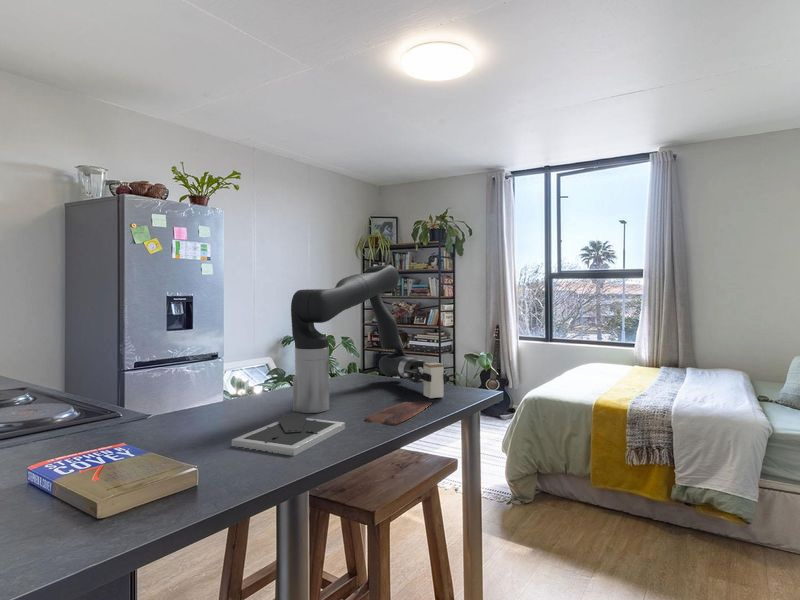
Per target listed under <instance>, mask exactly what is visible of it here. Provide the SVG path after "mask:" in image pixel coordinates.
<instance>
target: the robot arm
mask: <svg viewBox="0 0 800 600" xmlns="http://www.w3.org/2000/svg"><path fill="white" fill-rule="evenodd" d="M399 281H400V276H399V272H398V270H397V268H396V267H394V266H393V265H390V264H383V265H373V266H369V267H367V268H366V269H365V270H364V273H358V274H352V275H349V276H347V277H343V278H342V279H340V280H339V281H338V282H337V283H336V285H335V287H333V288H329V289H328V288H327V289H321V288H318V289H317V288H314V289H312V288H311V289H298V290H297V291H295V292H294V294H293V296H292V298H291V303H290V318H291V319H290V320H291V333H292V339H293V342H294V372H295V373H294V375H293V376H292V411H293V412H298V413H302V414H313V413H314V414H315V413H323V412H326V411H328V410H329V409H330V350H329V349H330V348H329V347H330V341H329V338H328V336H327V335H325V334H323V333H321V332H320V331H318V330H317V329H316V327H315V323H316V324H323V323H327V322H329V321H331V320H332V319H333V318H335V317H336V316H337V315H339V314H340V313H342V312H344V311H346V310H348V309H352V308H353V307H355V306H358V305H360V304H363V303H364V302H366V301H368V300H369V302H370V304H371V309H372V312H373V314H374V317H375V320H376V324H377V330H378V336H379V342H380V346H381V348H382V349H385V350H394V352H392V353H390V354H387V355H383V356H381V358H380V359H379V361H378V368H379V370H380V371H381V373H382V374H383V375H385V376H387V377H388V376H389V377H398V376H399V377H401V378H403V379H406V380H408V381H409V382H412V383H414V384H415V383H416V384H420V383H424V380H425V381H427V382H431V374H427V373H424V366H423V363H427V362H426V361H424V360H422V359H419V358H414V357H408V356H407V355H406V352H405V350H404V348H403V346H402V343H401V339H400V333H399V327H398V324H397V321H396V319H395V317H394V316H393V314H391V312H390V310H389V309H388V307H387V306H386V305H385V303H384V302H383V299H382V295H381V294H383V293H385V292H392V291H393V290H394V289H396V287H397V286H398V285H399ZM443 381H444V382H445V381H447V373H446V370H445V369H444V373H443Z"/></svg>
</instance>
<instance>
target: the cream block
mask: <svg viewBox="0 0 800 600" xmlns="http://www.w3.org/2000/svg"><path fill="white" fill-rule="evenodd" d="M423 366H424V373H427V374H431V382H427V381H425V380H424V381H423V396H425V397H427V398H428V399H436V398H443V397H444V391H445V390H444V387H445V386H444V382H445V381H443V373H444V370H445V369H444V366H445V365H444V363H441V362H437V361H434V362H433V361H432V362H426V363H423Z"/></svg>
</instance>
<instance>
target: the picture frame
mask: <svg viewBox="0 0 800 600" xmlns="http://www.w3.org/2000/svg"><path fill="white" fill-rule="evenodd" d="M307 417H308V415H304V414H303V415H302V414H297V413H291V412H290V413H287V414H285V415H283V416H280V417H277V420H278V421H275V422H272V423H270V424H268V425H265V426H263V427H260V428H258V429H255V430H252V431H249V432H248V433H245V434H242V435H240V436H237V437H236V438H233V439H231V447H232V446H238V447H244V448H243V449H245V448H249V449H248V450H252V449H256V450H255V451H258V450H262V451H261V452H265V451H268V452H267V453H272V452H273V454H278V453H279V455H286V456H292V457H295V456H296V455H299V454H300V453H302V452H304V451H306V450H308V449H310V448H311V447H313V446H315V445H317V444H319V443H321V442H323V441H325V440H326V439H328V438H330V437H332V436H334V435H336V434H337V433H339V432H341V431H343V430H346V422H343V421H333V420H327V419H318V418H317V419H316V418H307ZM238 447H237V448H238Z"/></svg>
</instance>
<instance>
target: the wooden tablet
mask: <svg viewBox="0 0 800 600" xmlns="http://www.w3.org/2000/svg"><path fill="white" fill-rule="evenodd" d="M432 402H433V401H418V402H408V401H404V402H401V403H398V404H396V405H392V406H389V407H387V408H384V409H381V410H379V411H376V412H374V413H372V414H370V415H368V416H366V417H365V418H364V421H365V422H366V423H380V424H383V425H387V426H396V425H399V424H401V423H403V422H404V423H405V422H406V421H407V420H410V419H411V418H413V417H414V416H416V415H419V414H420V413H422V412H423V411H425V410H426V409H427V407H428V406H429V405H431V404H432ZM432 405H433V404H432ZM432 405H431V406H432ZM429 407H430V406H429ZM429 407H428V408H429ZM425 408H426V409H425ZM424 409H425V410H424Z"/></svg>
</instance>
